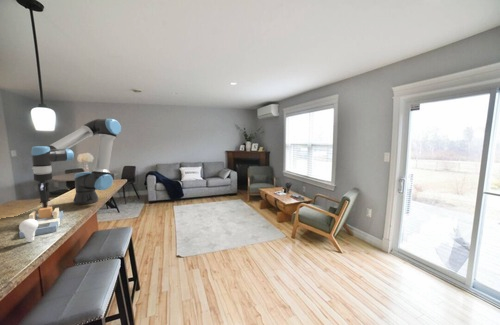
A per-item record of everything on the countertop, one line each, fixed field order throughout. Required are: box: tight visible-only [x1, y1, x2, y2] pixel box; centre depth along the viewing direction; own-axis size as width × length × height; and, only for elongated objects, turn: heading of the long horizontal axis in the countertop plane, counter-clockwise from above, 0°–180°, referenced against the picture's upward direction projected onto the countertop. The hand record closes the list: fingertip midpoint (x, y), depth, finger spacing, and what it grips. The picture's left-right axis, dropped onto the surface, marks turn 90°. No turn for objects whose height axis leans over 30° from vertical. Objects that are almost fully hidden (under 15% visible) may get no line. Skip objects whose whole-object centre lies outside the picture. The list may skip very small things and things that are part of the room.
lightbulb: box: [18, 218, 38, 243], centre depth 95 cm, size 6×6×11 cm
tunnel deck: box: [18, 207, 64, 239], centre depth 114 cm, size 28×13×7 cm, turn 37°
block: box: [37, 206, 54, 219], centre depth 119 cm, size 5×5×5 cm
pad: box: [37, 218, 61, 228], centre depth 112 cm, size 6×13×3 cm, turn 127°
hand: (46, 212), depth 121 cm, fingers closed
